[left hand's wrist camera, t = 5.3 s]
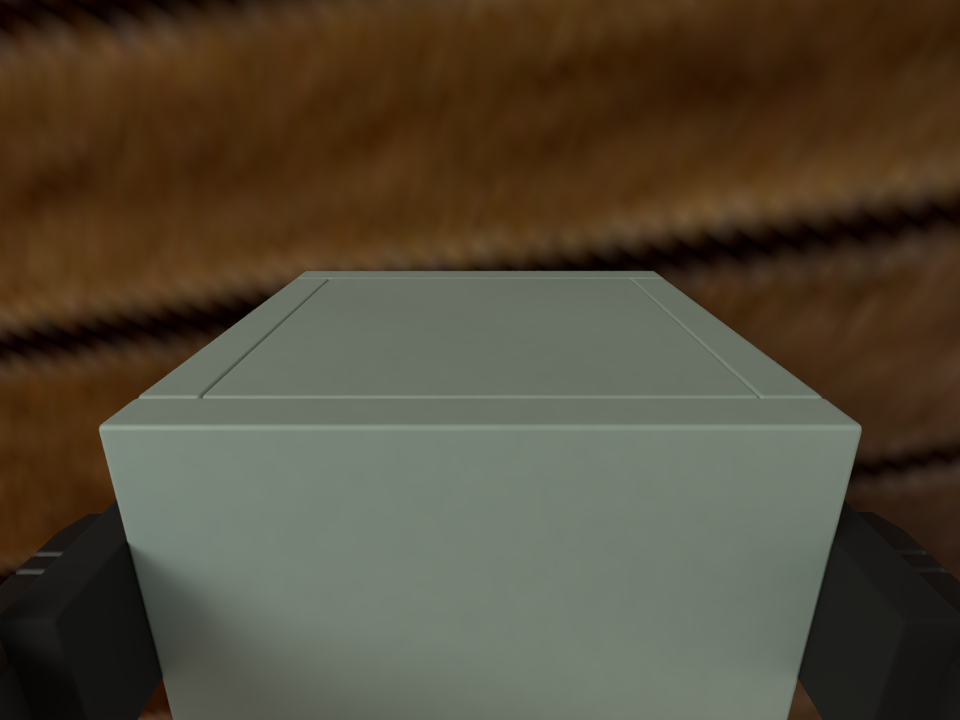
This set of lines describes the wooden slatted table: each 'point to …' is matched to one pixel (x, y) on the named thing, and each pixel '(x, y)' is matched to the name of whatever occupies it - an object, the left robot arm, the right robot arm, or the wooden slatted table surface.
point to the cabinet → (480, 505)
